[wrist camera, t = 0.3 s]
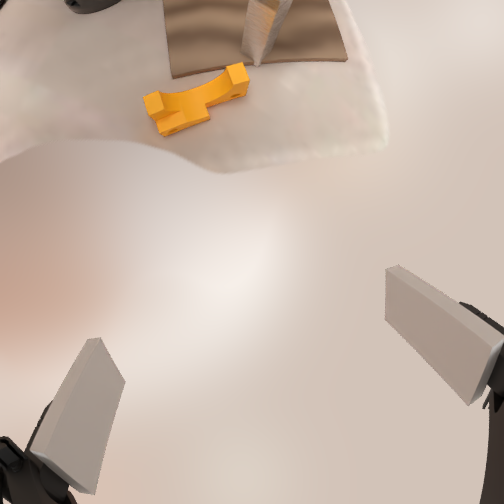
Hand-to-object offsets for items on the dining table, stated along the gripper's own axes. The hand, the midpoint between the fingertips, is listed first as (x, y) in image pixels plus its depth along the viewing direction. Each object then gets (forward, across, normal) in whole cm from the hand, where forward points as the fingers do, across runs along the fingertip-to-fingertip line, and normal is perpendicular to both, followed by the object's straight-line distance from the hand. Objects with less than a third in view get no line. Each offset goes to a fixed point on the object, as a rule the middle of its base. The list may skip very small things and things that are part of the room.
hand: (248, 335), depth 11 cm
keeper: (+28, +12, +25) cm, 39 cm away
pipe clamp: (+28, 0, +16) cm, 32 cm away
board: (+28, +10, +32) cm, 44 cm away
